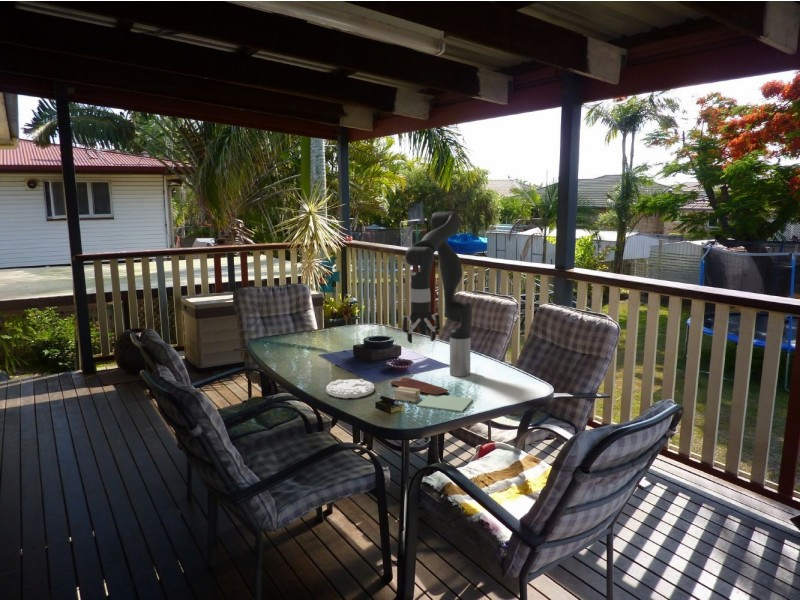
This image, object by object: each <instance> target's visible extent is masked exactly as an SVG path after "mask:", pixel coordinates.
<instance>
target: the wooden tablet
mask: <svg viewBox="0 0 800 600" xmlns="http://www.w3.org/2000/svg"><path fill="white" fill-rule="evenodd" d="M389 384H391V385H392V386H396V387H407V388H414V389H420V393H425V394H428V395H429V394H436V395H442V394H443V393H448V391H449V389H447V388H444V387H442V386H438V385H434V384H432V383H428V382H425V381H422V380H419V379H414V378H409V377H402V378H401V379H399V380H392V381H391V382H389ZM449 392H450V391H449Z"/></svg>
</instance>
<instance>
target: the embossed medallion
mask: <svg viewBox="0 0 800 600" xmlns="http://www.w3.org/2000/svg"><path fill="white" fill-rule="evenodd" d="M374 385H375V384H374V383H373V382H370V381H368V380H364V378H359V379H350V378H349V379H336V380H333V381H331V382H329V384H327V385H326V388H325V389H326V393H327V394H328V395H330V396H332V397H333V396H334V398H336V397H337V398H342V399H346V400H347V399H348V398H350V399H351V398H352V399H358V398H361V397H364V396H368V395H371V394H372V393H373V392H374V391H375V386H374Z"/></svg>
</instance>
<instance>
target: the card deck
mask: <svg viewBox="0 0 800 600" xmlns="http://www.w3.org/2000/svg"><path fill="white" fill-rule="evenodd" d="M393 397H394V398H393V399H394V400H397V401H403V402H409V401H411V403H416V402H418V401H419V400H420V399H421V392H420V389H414V388H407V387H399V386H397V388H395V389H393Z"/></svg>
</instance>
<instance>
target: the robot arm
mask: <svg viewBox="0 0 800 600" xmlns="http://www.w3.org/2000/svg"><path fill="white" fill-rule="evenodd" d="M430 218H431V219H430V223H431V229H432V230H431V231H429V232H427V233H426V234H425V235H424V236H423V237H422V239H421V240H419V241H417V242H415V243H414V244H412V245H410V246H409V247H408V248H407V250H406V252H405V261H406V263H407V264H408V265H409V266H414V267H416V266H417V267H418V266H419V267H420V266H421V267H422V268H421V270H419V271H415V272H413V273H411V275H410V315H409V316H407V315H403V316H402V319H401V320H402V323H401V324H402V325H401V330H402V332H404V333H406V334H407V335H406V337H407V341H408V343H409V344H412V343H413V334H412V332H413V331H414V330H415V329H416V327H417V328H420V327H425V328H426V327H428V328H429V329H430V331H429V333H430V334H429V335H430V342H434V341H435V340H436V331H438V330H441V324H440V322H441V321H440V314H438V313H434V314H432V311H431V307H432V305H431V299H432V297H431V294H432V293H431V289H430V288H431V285H430V281H431V280H430V277H431V272H432V267H433V263H434V261H435V253H436V252H437V256H438V265H439V272H440V277H441V280H442V286H443V295H444V296H443V297H444V307H445V315H446V318H447V320H448V321H449V322H454V323H460V326H459V327H457V328H452V329H451V330H449V375H451V376H453V377H458V378H459V377H460V378H461V377H467V376H468V377H469V376H471V333H472V318H473V307H472V304H471V303H470V302H468V301H461V300H460V301H458V300H456V297H455V294H456V293H455V292H456V290H457V288H458V286H459V284H460V282H461V280H462V279H463V278H462V277H463V269H462V261H461V259H460V257H459V255H458V254H457V253H456V252H455V250H454V249H453V248H452V247H451V246H450V245H449V243H448V241H447V240H448V239H449V238H451V237H452V236H454V235H455V234H456V233H458V231H459V229H460V224H461V219H460V216H459V214H458V212H455V211H453V210H452V211H436V212H434V213H432V215H431V217H430ZM432 319H433V321H434V326H433V324H432V323H431V320H432ZM409 320H410V321H411V323H410V325H409V326H408V322H409Z"/></svg>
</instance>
